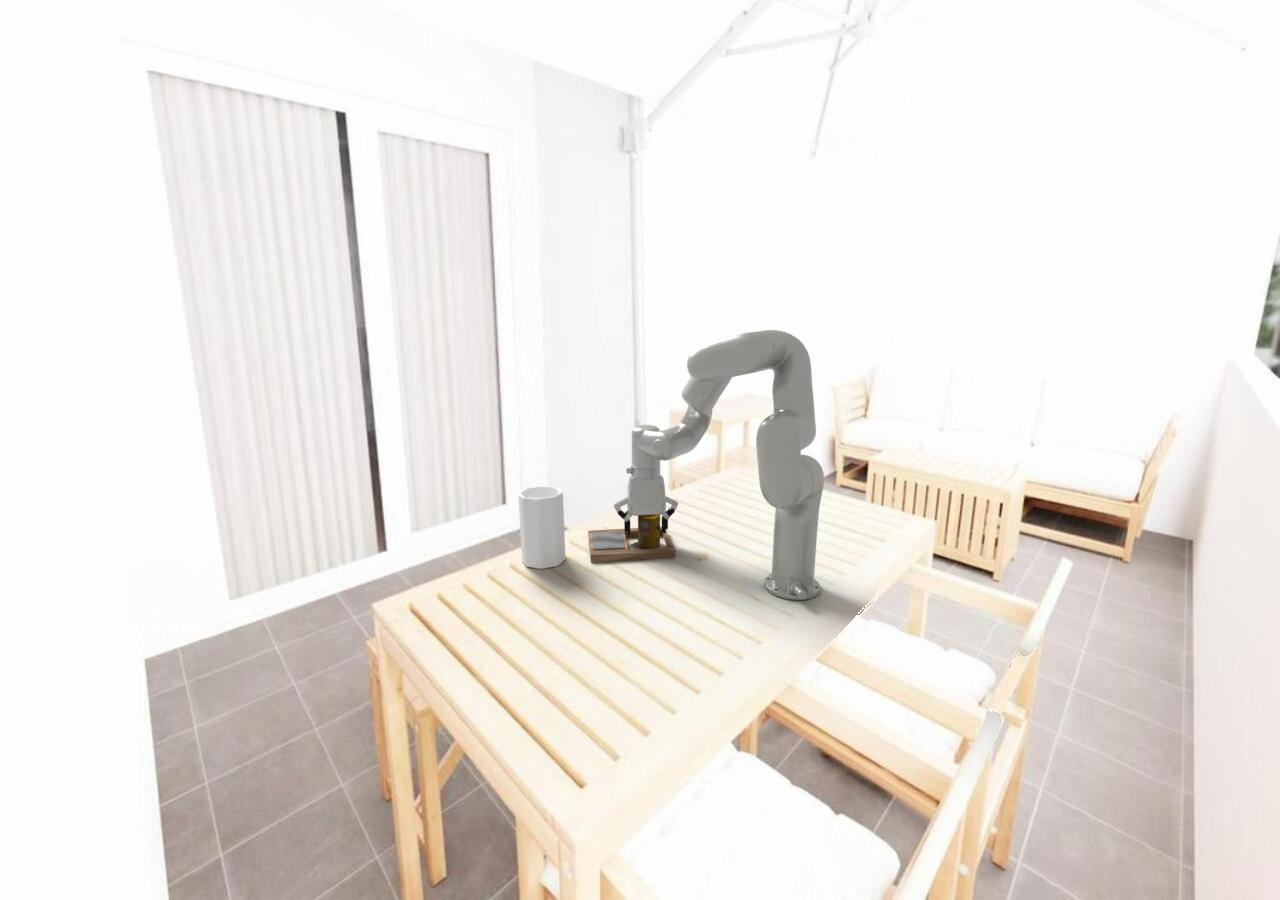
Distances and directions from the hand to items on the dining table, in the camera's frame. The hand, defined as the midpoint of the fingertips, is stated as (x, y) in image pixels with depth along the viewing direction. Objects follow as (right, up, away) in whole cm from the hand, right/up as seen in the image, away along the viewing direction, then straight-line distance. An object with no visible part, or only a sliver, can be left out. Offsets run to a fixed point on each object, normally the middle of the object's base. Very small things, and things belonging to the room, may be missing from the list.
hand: (646, 532), depth 162 cm
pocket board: (-4, -4, 0) cm, 6 cm away
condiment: (0, -4, +1) cm, 4 cm away
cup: (-27, -6, -7) cm, 28 cm away
